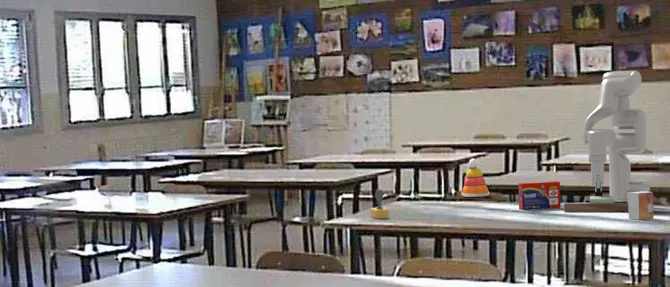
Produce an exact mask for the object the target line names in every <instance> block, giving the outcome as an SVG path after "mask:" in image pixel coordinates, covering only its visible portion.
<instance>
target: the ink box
mask: <svg viewBox="0 0 670 287" xmlns="http://www.w3.org/2000/svg"><path fill="white" fill-rule="evenodd" d="M641 191H646V192H651V181H650V180H646V179H645V180H643V179H642V180H641V179H631V180H628V181H627V202H626V203H629V201H628V193H629V192H641Z"/></svg>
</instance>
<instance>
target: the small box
mask: <svg viewBox="0 0 670 287" xmlns="http://www.w3.org/2000/svg"><path fill="white" fill-rule="evenodd" d="M628 201H629V212H628V219H629V220H636V221H639V220H653V219H654V192H652V191H650V192H646V191H641V192H629V193H628Z"/></svg>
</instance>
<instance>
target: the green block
mask: <svg viewBox="0 0 670 287" xmlns="http://www.w3.org/2000/svg"><path fill="white" fill-rule="evenodd" d="M589 203H615V202H614V196H610V195H608V196H607V195H605V196H604V195H602V196H595V195H592V196H591V195H590V196H589Z"/></svg>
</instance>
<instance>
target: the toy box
mask: <svg viewBox="0 0 670 287" xmlns="http://www.w3.org/2000/svg"><path fill="white" fill-rule="evenodd" d="M551 208H552V209H561V208H562V207H561V181H539V182H519V183H518V210H521V211H528V210H531V211H533V210H548V209H551Z"/></svg>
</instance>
